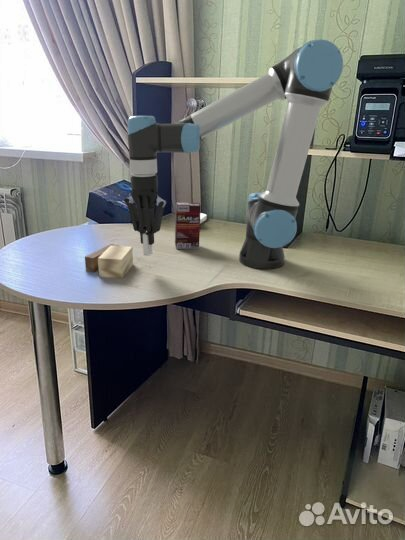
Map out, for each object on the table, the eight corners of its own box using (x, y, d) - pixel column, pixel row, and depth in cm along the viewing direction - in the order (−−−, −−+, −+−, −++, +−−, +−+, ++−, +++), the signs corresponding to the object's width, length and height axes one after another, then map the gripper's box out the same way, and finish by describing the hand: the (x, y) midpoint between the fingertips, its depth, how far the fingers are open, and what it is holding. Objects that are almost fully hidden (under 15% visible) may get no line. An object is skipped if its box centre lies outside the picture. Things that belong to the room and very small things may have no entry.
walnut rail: (119, 258, 139) (119, 245, 137) (94, 272, 126) (93, 258, 125) (111, 256, 140) (111, 243, 138) (85, 270, 128) (84, 256, 126)
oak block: (133, 264, 134) (132, 246, 132) (122, 278, 123) (121, 259, 121) (111, 263, 135) (110, 245, 132) (99, 277, 124) (97, 258, 121)
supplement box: (175, 249, 149) (176, 205, 143) (174, 245, 153) (175, 202, 147) (199, 249, 150) (201, 205, 144) (198, 244, 154) (199, 202, 149)
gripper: (170, 173, 118) (173, 253, 127) (131, 171, 123) (135, 247, 131) (158, 177, 111) (161, 261, 120) (116, 175, 116) (122, 255, 125)
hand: (148, 254), depth 126 cm, fingers closed
